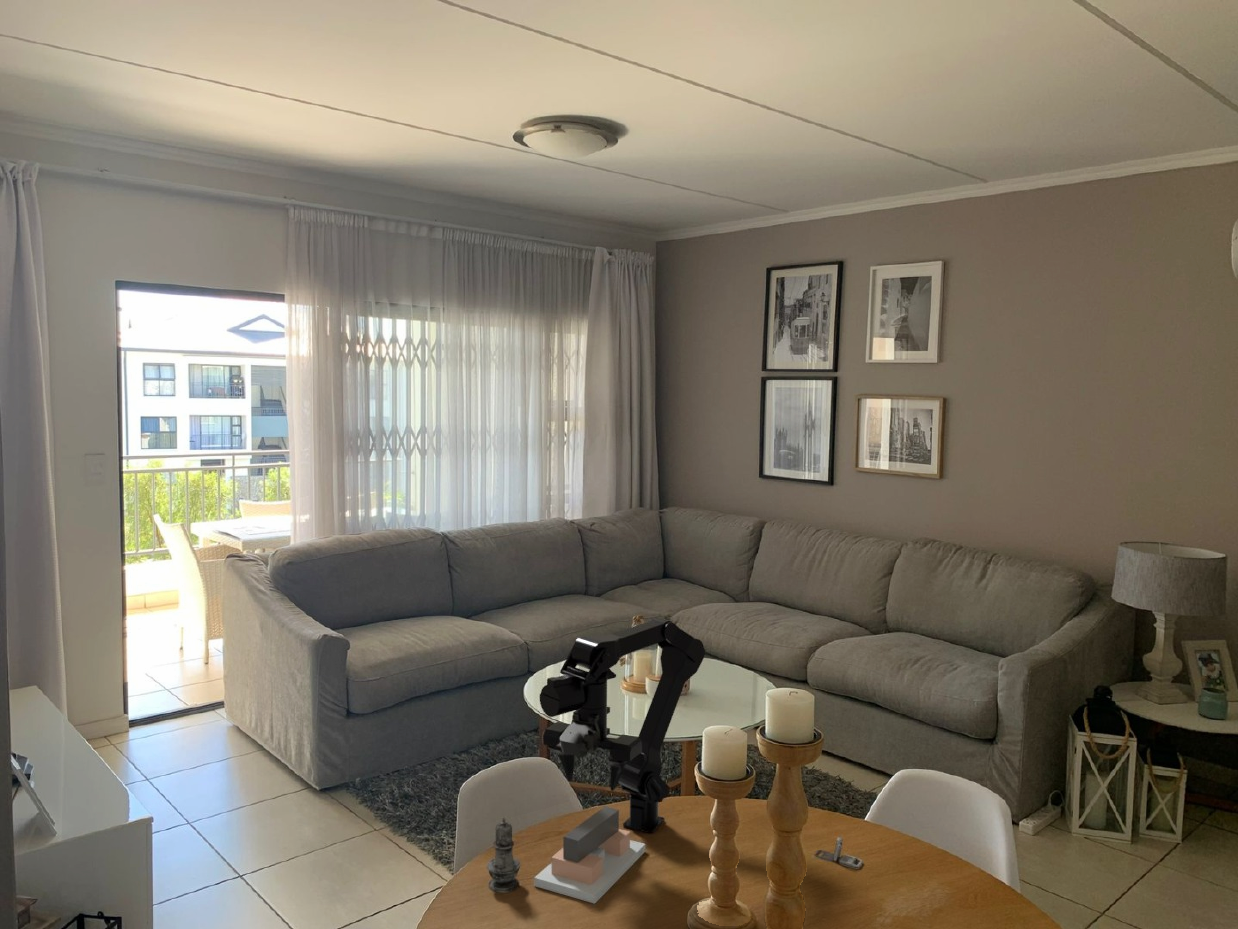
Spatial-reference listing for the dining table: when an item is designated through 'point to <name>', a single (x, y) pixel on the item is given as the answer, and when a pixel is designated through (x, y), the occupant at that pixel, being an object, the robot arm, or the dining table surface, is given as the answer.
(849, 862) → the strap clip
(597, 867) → the display stand
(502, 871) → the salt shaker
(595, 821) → the frame bar
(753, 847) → the dining table surface
